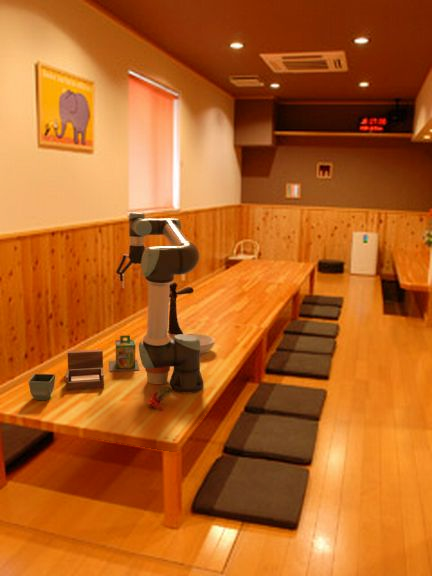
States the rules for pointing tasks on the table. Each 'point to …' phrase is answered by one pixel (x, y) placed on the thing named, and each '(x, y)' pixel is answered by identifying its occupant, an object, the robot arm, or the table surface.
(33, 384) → the flower pot
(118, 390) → the table surface
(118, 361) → the chalk box
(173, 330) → the flared trumpet-armed statue
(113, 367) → the rubber mat
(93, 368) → the walnut rack
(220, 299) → the table surface
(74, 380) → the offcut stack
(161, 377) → the reusable coffee cup
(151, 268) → the robot arm
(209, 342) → the serving bowl
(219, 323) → the table surface
